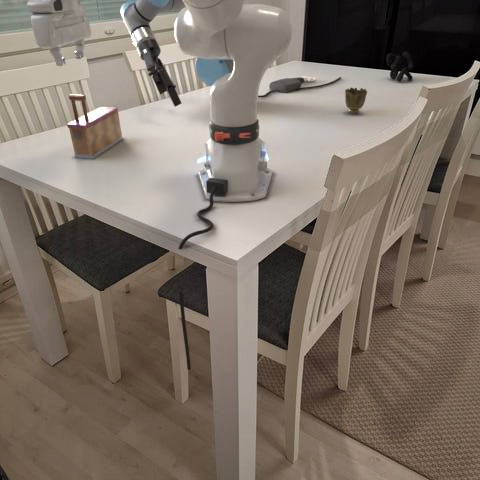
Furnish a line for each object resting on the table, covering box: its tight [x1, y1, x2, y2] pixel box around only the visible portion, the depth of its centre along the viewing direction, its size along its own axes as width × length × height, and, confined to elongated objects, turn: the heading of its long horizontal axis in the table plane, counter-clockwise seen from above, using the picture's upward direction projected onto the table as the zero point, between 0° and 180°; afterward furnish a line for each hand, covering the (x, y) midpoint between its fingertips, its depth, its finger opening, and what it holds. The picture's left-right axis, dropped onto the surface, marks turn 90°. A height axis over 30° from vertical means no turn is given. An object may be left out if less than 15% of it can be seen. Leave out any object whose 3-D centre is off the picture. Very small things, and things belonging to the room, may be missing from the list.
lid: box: [66, 93, 119, 129], centre depth 126 cm, size 18×6×8 cm, turn 164°
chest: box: [68, 110, 124, 160], centre depth 131 cm, size 17×6×9 cm, turn 164°
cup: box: [344, 87, 368, 115], centre depth 156 cm, size 8×7×8 cm
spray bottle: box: [268, 75, 317, 93], centre depth 194 cm, size 3×11×24 cm
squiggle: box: [385, 51, 414, 83], centre depth 198 cm, size 11×10×15 cm
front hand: (71, 61), depth 115 cm, fingers open, 8 cm apart
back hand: (171, 98), depth 152 cm, fingers open, 13 cm apart
